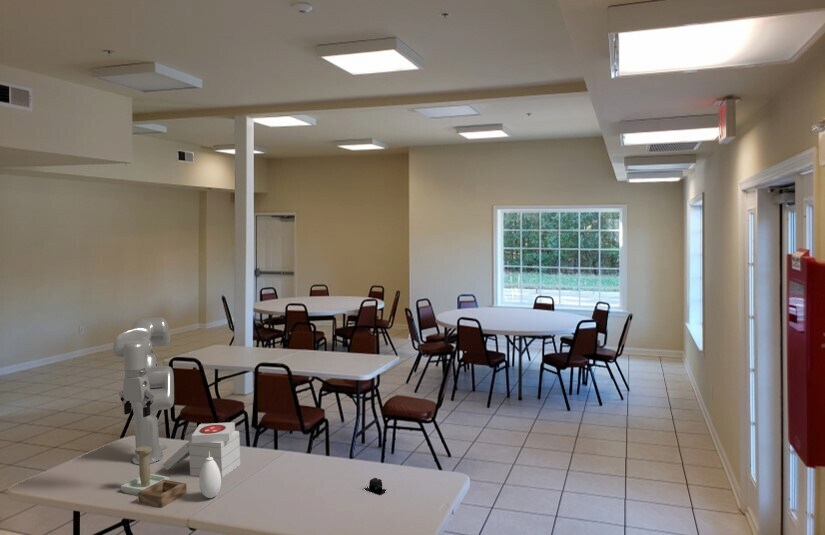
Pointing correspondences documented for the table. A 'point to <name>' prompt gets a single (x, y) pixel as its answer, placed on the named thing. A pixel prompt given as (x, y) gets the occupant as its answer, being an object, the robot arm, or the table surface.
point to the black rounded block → (375, 486)
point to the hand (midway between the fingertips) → (137, 414)
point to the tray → (136, 486)
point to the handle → (144, 464)
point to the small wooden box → (160, 500)
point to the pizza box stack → (210, 448)
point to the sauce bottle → (210, 478)
